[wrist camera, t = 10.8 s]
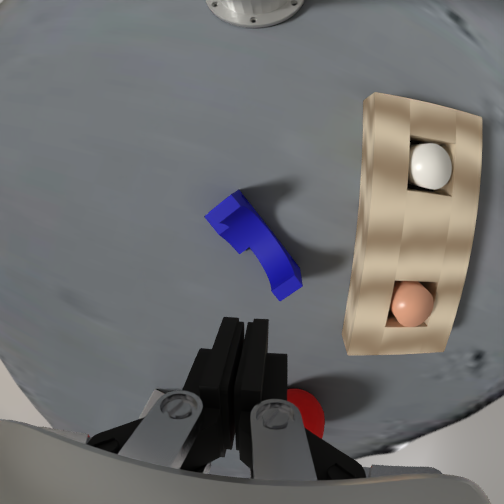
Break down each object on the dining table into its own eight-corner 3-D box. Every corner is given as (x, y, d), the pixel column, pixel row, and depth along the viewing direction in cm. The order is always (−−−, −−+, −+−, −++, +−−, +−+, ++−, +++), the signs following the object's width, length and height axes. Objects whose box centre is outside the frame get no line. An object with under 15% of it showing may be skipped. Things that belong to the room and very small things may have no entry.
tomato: (336, 393, 43) (345, 445, 33) (296, 430, 46) (297, 480, 36) (279, 366, 43) (277, 419, 32) (243, 407, 46) (233, 458, 35)
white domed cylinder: (398, 141, 32) (414, 139, 28) (434, 148, 32) (452, 147, 27) (396, 182, 34) (411, 186, 29) (431, 187, 33) (450, 192, 29)
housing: (363, 100, 32) (375, 92, 27) (461, 120, 31) (482, 117, 26) (341, 334, 40) (347, 355, 35) (430, 333, 39) (443, 351, 34)
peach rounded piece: (387, 272, 36) (400, 287, 32) (422, 274, 36) (437, 288, 31) (381, 309, 38) (391, 327, 33) (414, 309, 37) (427, 326, 33)
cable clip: (210, 212, 38) (197, 221, 32) (239, 189, 36) (231, 194, 31) (270, 287, 40) (268, 308, 34) (299, 267, 38) (302, 286, 33)
